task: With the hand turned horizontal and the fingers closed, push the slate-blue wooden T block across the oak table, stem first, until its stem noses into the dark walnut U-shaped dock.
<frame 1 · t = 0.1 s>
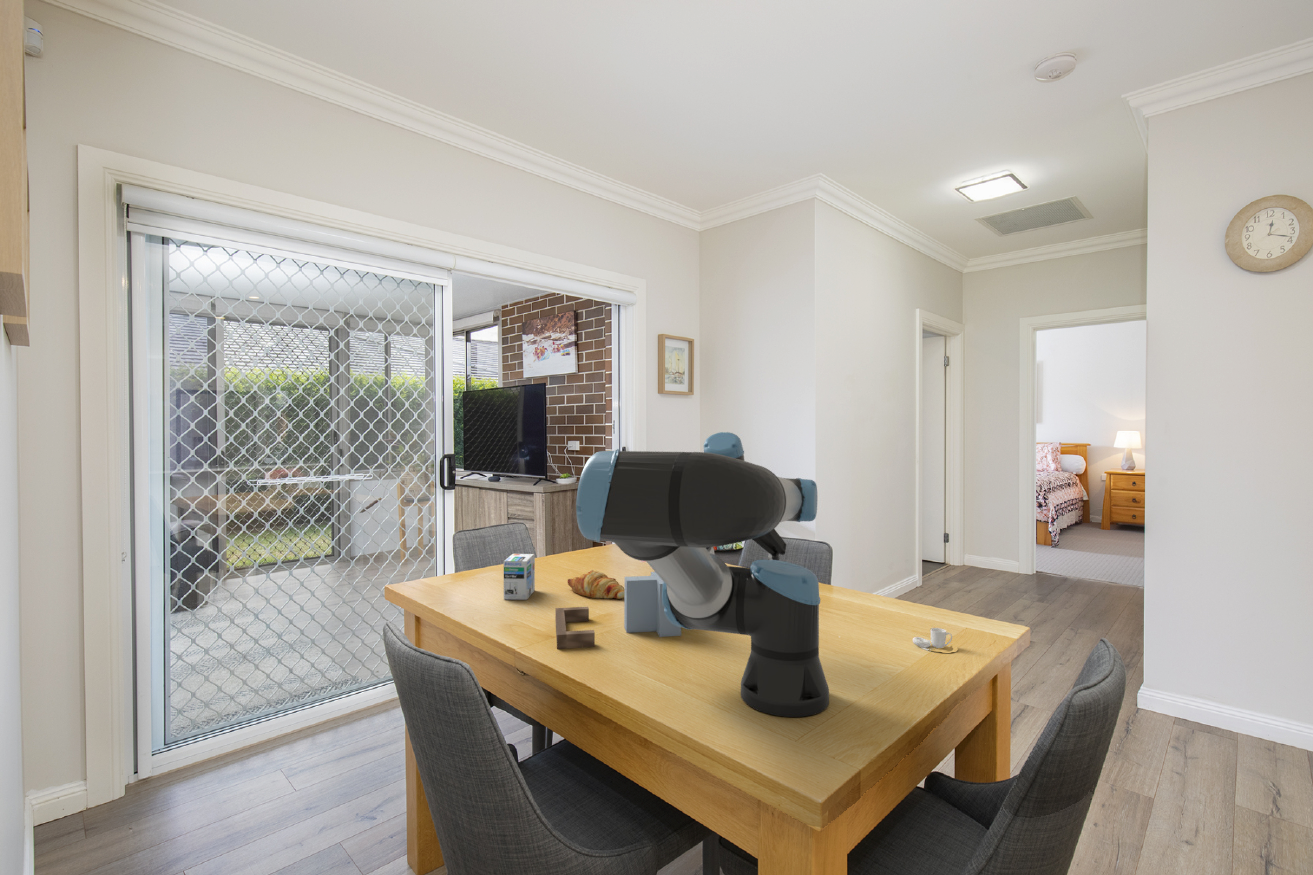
hand: (743, 570, 140), 15 cm above the table, tool tilted 35°, fingers open, 13 cm apart
dock: (560, 633, 142), on the table
croissant: (596, 595, 176), on the table
teacup and saucer: (928, 645, 138), on the table
t block: (665, 627, 147), on the table
light bulb box: (519, 595, 175), on the table
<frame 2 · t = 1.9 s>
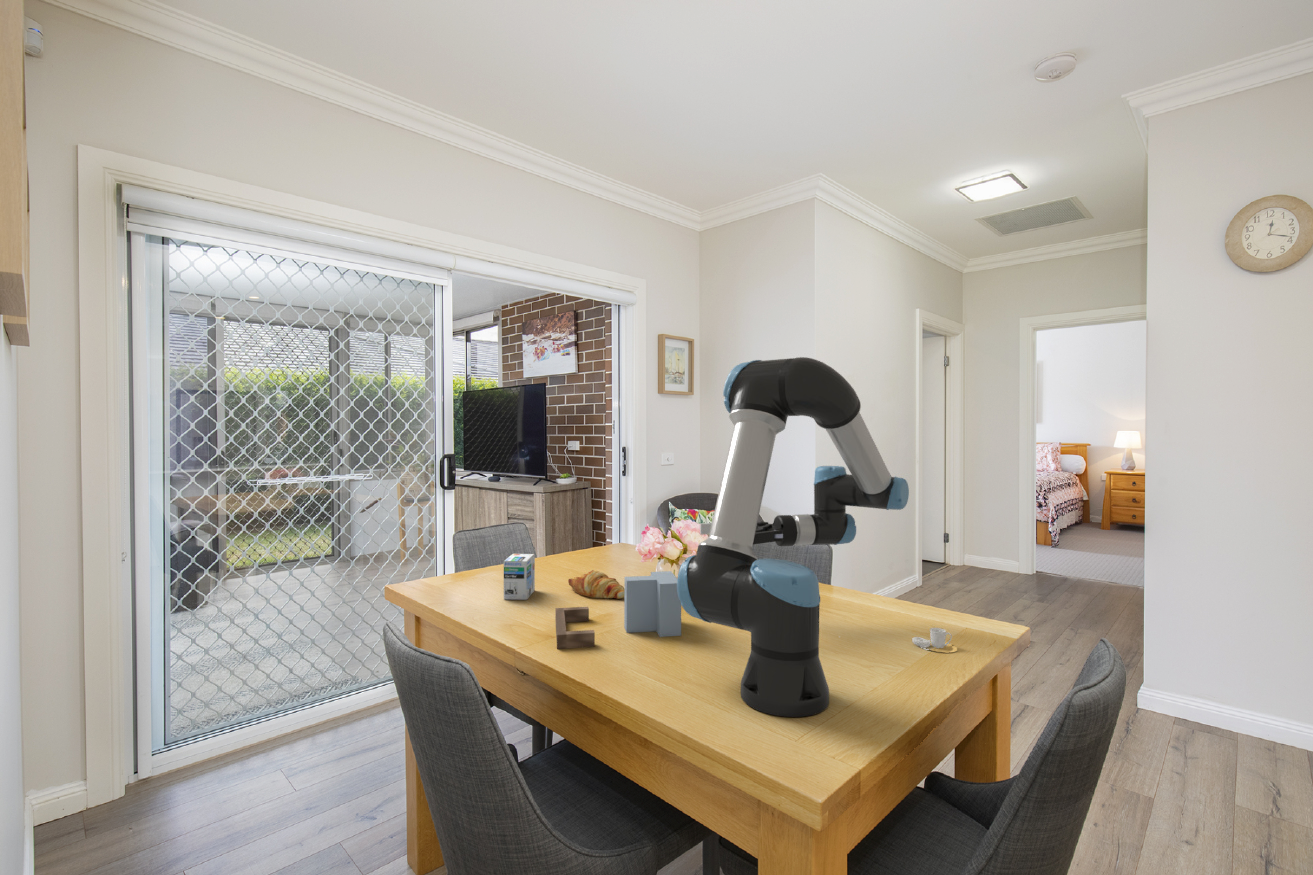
hand: (706, 533, 148), 22 cm above the table, tool horizontal, fingers open, 12 cm apart
nothing on the table moved.
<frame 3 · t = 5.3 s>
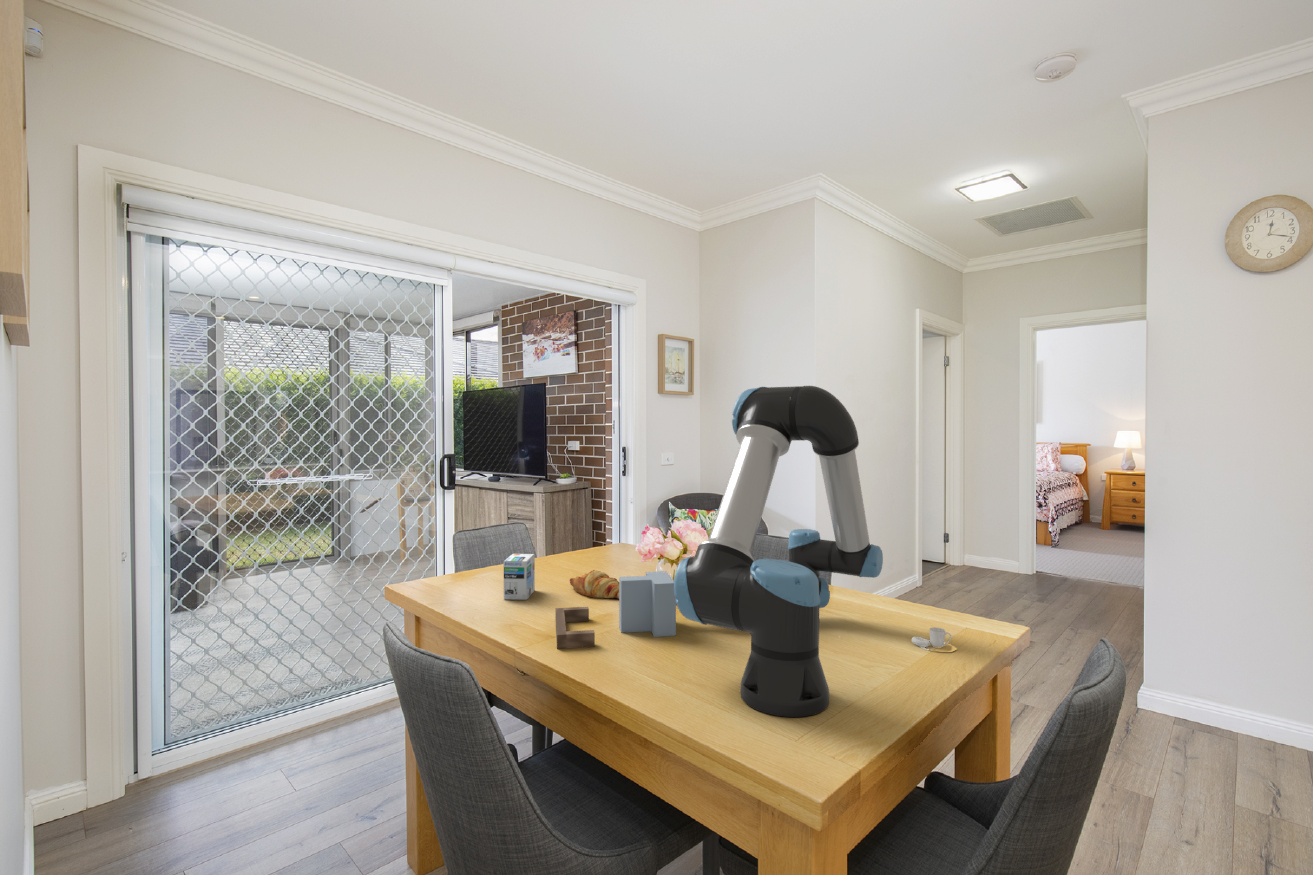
hand: (671, 599, 148), 7 cm above the table, tool horizontal, fingers closed
t block: (660, 627, 147), on the table, touching gripper
everything else where it was.
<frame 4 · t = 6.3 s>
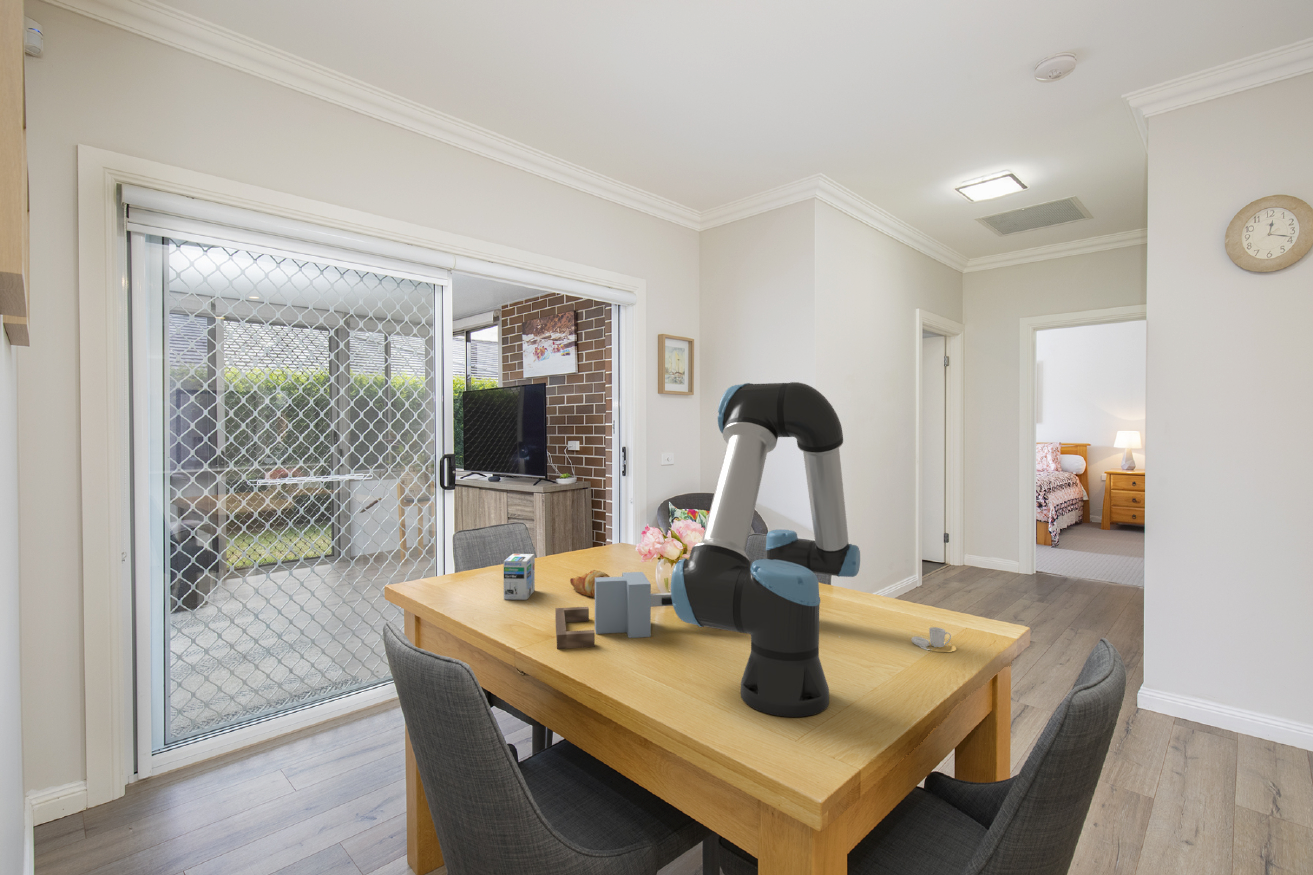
hand: (647, 600, 147), 6 cm above the table, tool horizontal, fingers closed
t block: (635, 628, 146), on the table, touching gripper
everything else where it was.
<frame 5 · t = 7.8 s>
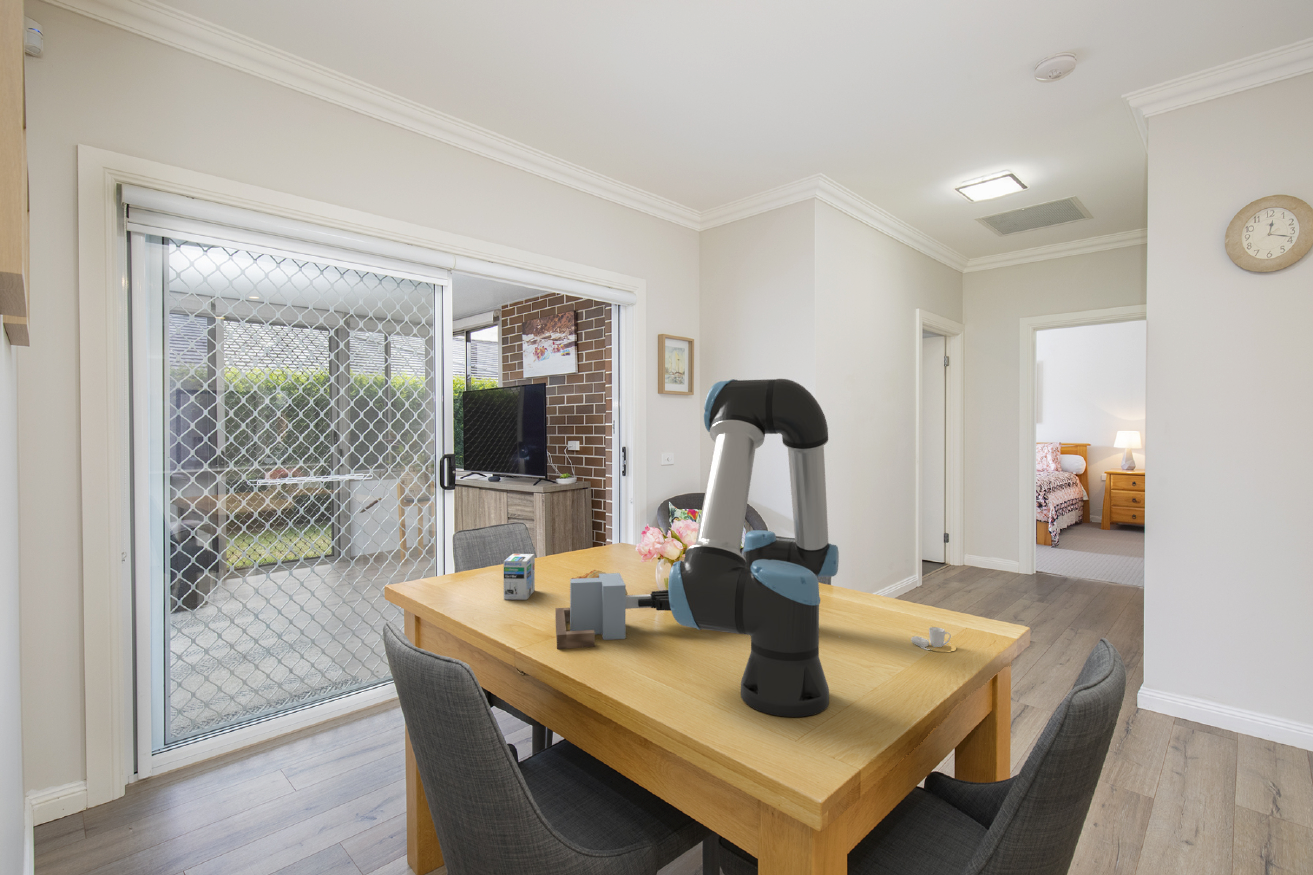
hand: (623, 602, 145), 7 cm above the table, tool horizontal, fingers closed
t block: (611, 630, 145), on the table, touching gripper
everything else where it was.
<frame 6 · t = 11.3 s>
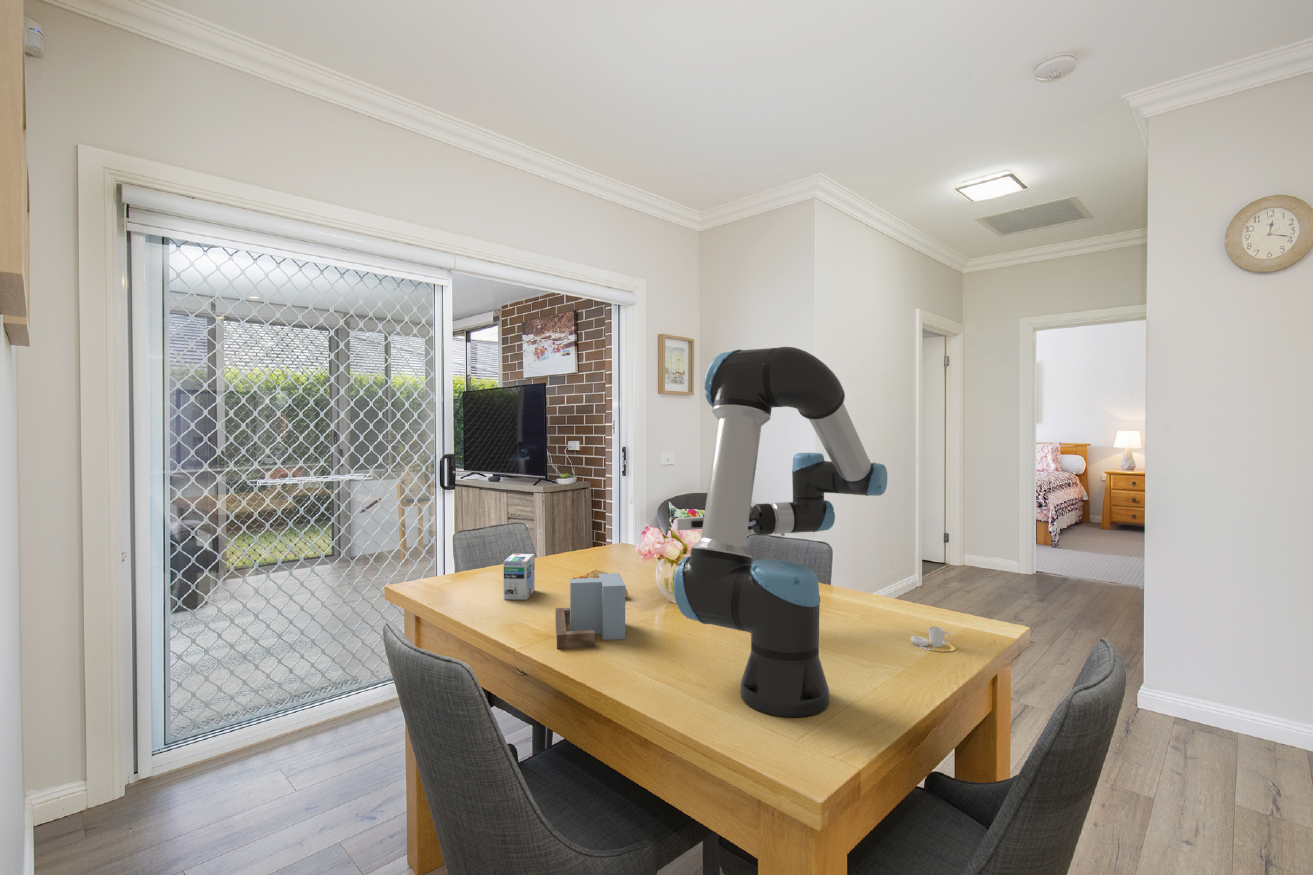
hand: (676, 524, 146), 25 cm above the table, tool horizontal, fingers closed
t block: (611, 630, 145), on the table
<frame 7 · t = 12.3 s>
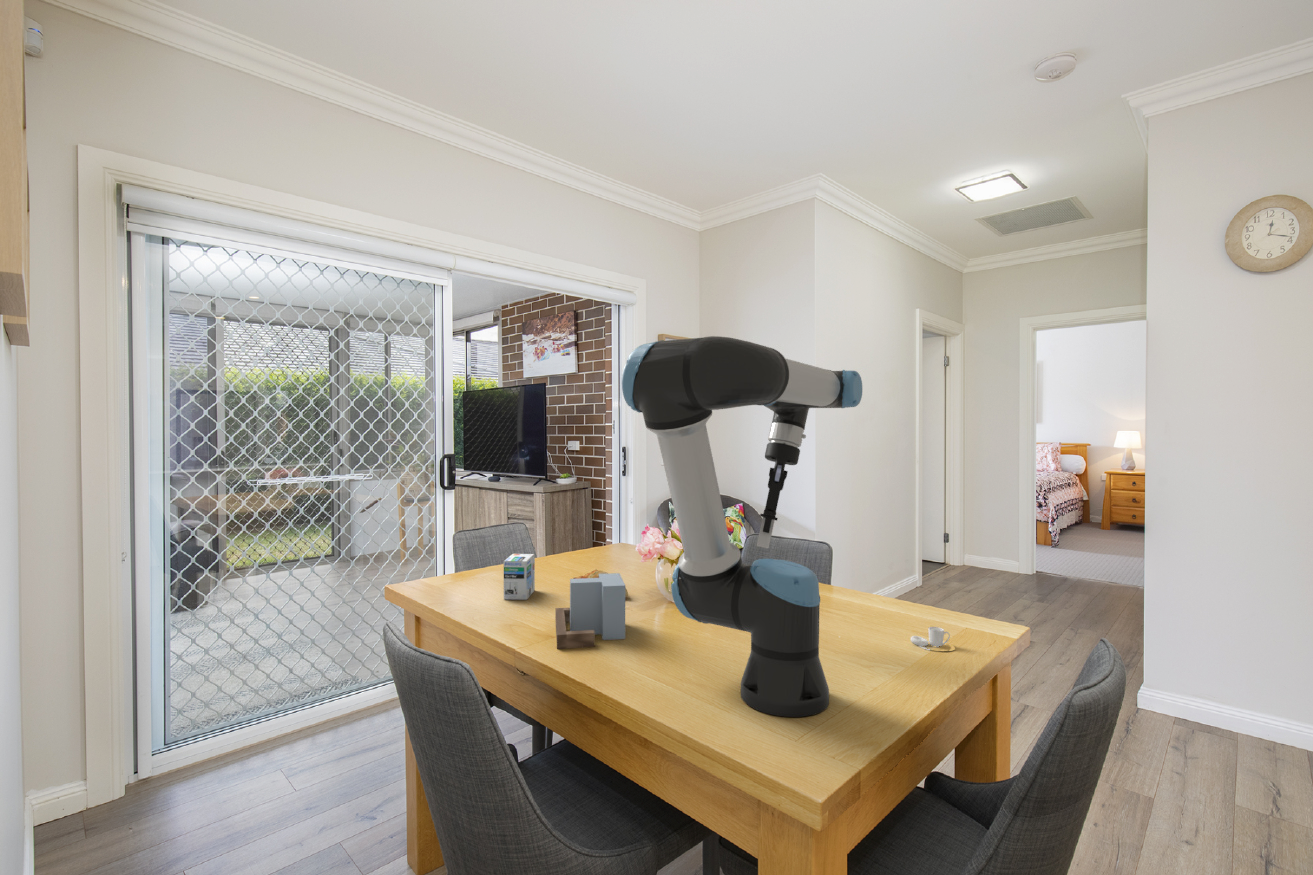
hand: (762, 547, 138), 21 cm above the table, tool tilted 15°, fingers closed
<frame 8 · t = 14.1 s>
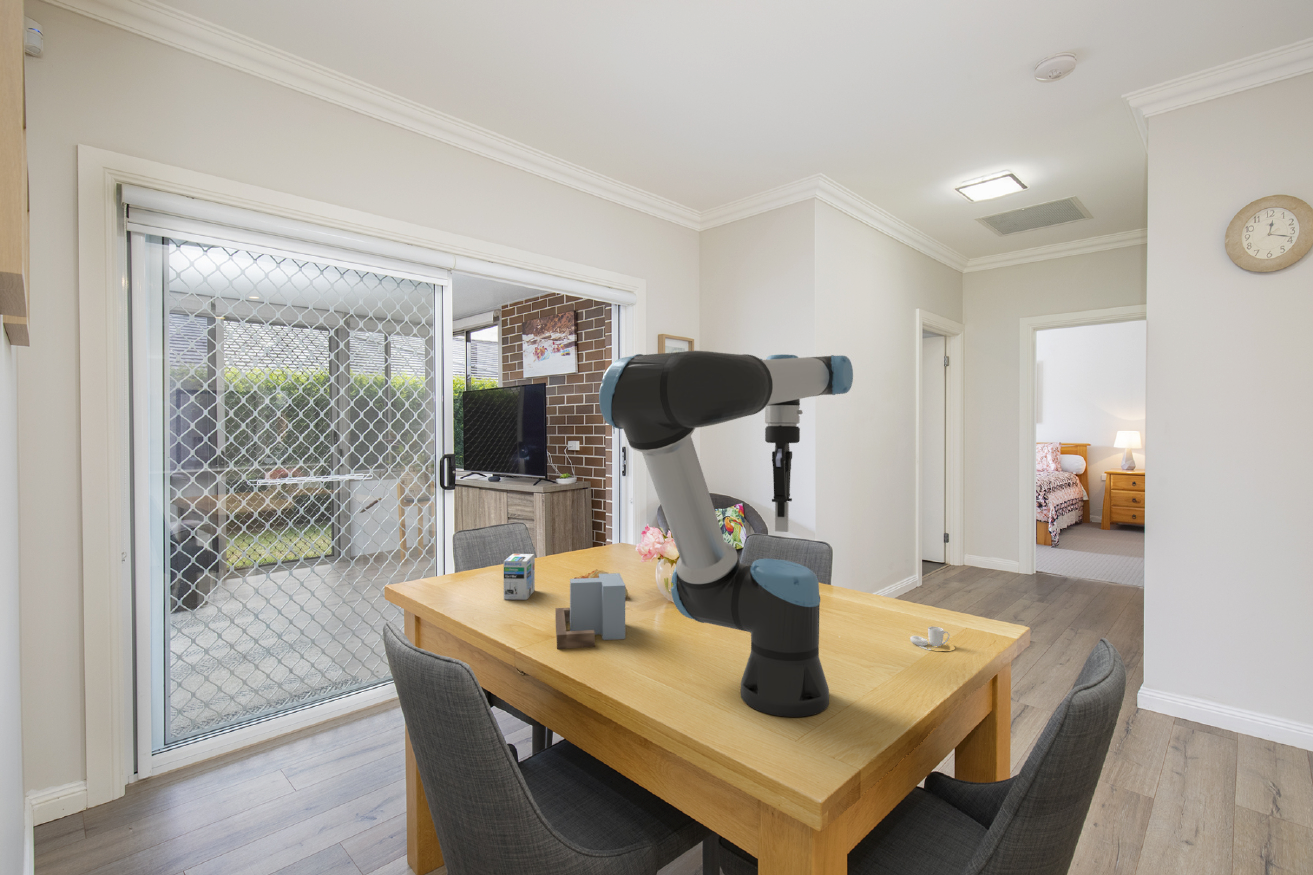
hand: (781, 530, 138), 24 cm above the table, tool pointing down, fingers closed
at the end: t block inside the target area (1.6 cm from its centre), on the table; t block tilted 0°; t block 11.7 cm from the dock (horizontally) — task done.
